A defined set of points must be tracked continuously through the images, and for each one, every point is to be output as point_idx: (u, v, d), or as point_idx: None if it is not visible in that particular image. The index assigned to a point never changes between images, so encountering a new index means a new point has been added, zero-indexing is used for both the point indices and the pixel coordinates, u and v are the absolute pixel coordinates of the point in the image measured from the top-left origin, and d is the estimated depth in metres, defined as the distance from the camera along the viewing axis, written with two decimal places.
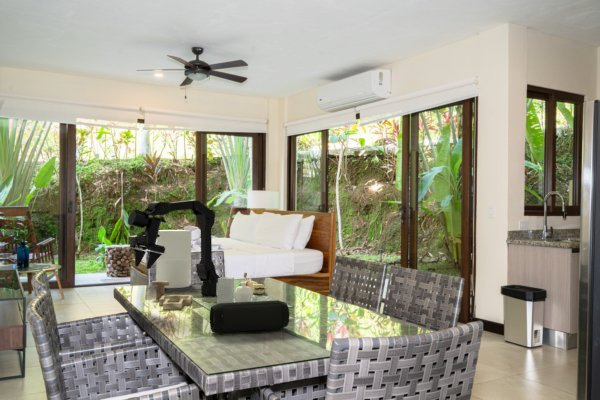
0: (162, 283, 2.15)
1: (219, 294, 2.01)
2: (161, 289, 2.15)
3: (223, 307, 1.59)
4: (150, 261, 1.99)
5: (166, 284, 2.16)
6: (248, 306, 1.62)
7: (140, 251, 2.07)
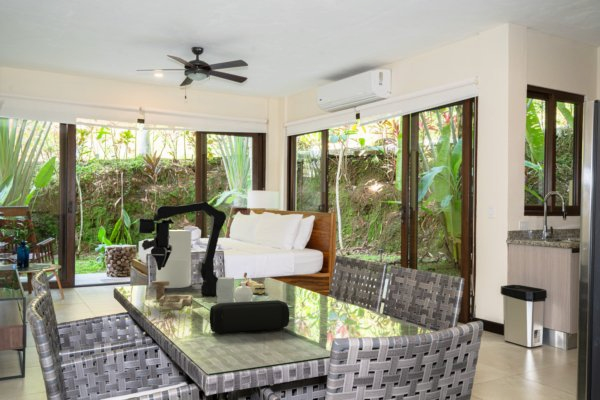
0: (162, 283, 2.15)
1: (219, 294, 2.01)
2: (161, 289, 2.15)
3: (223, 307, 1.59)
4: (158, 263, 2.13)
5: (166, 284, 2.16)
6: (248, 305, 1.62)
7: None
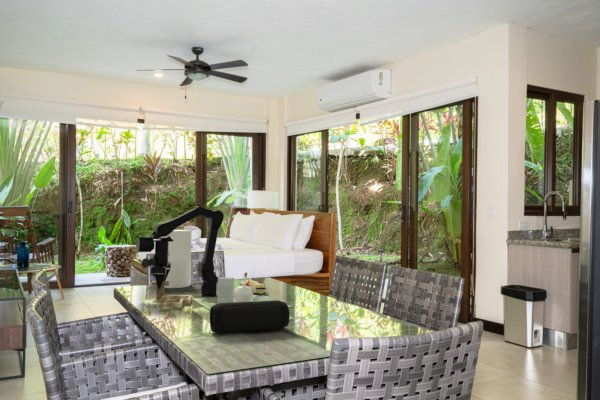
0: (162, 283, 2.15)
1: (219, 294, 2.01)
2: (161, 289, 2.15)
3: (223, 307, 1.59)
4: (158, 282, 2.11)
5: (166, 284, 2.16)
6: (248, 306, 1.62)
7: None
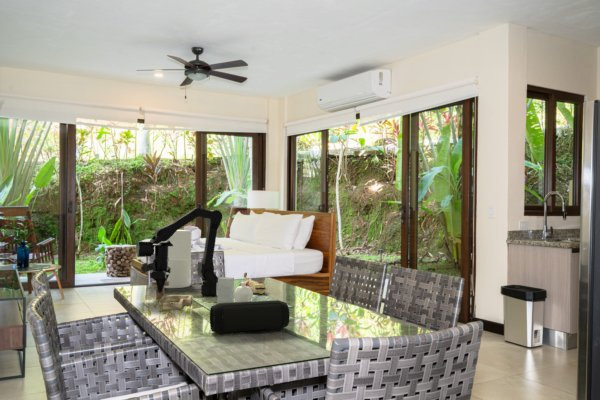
0: None
1: (219, 294, 2.01)
2: None
3: (223, 307, 1.59)
4: (158, 285, 2.14)
5: (166, 284, 2.16)
6: (248, 305, 1.62)
7: None
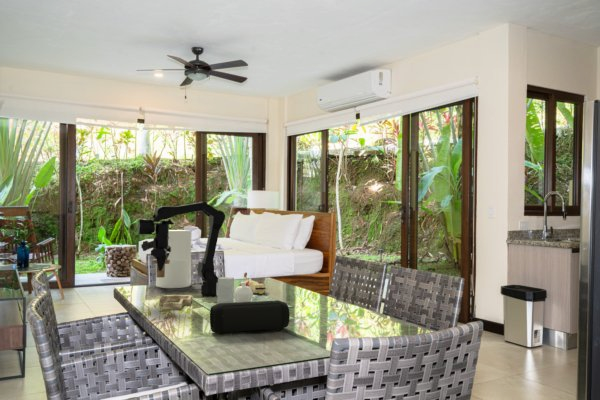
0: None
1: (219, 294, 2.01)
2: None
3: (223, 307, 1.59)
4: (159, 263, 2.14)
5: (166, 262, 2.16)
6: (248, 306, 1.62)
7: None
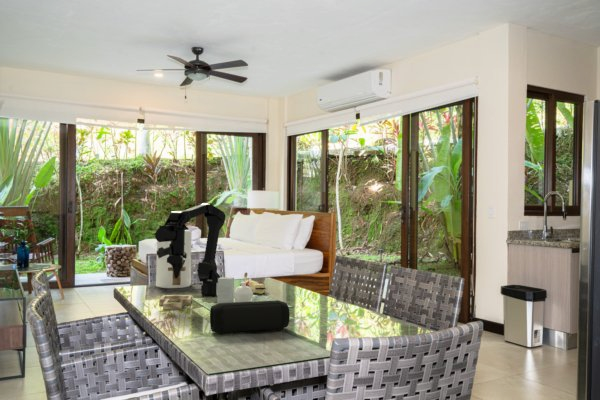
0: None
1: (219, 294, 2.01)
2: None
3: (223, 307, 1.59)
4: (175, 271, 2.06)
5: (183, 269, 2.07)
6: (248, 306, 1.62)
7: None
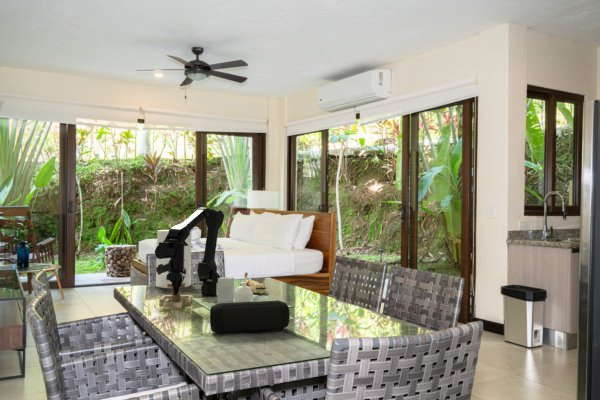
0: None
1: (219, 294, 2.01)
2: None
3: (223, 307, 1.59)
4: (174, 287, 2.06)
5: (182, 286, 2.07)
6: (248, 306, 1.62)
7: None
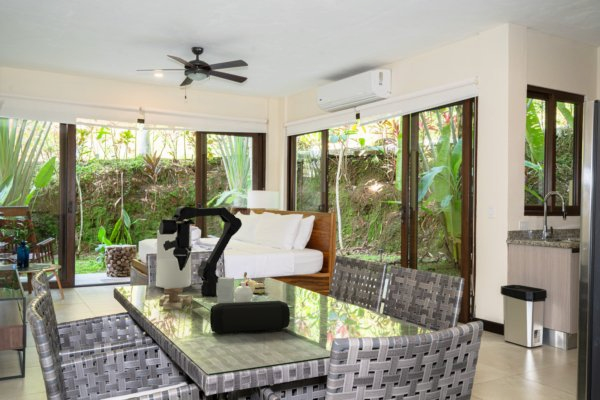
0: (175, 290, 1.98)
1: (219, 294, 2.01)
2: (174, 296, 1.98)
3: (223, 307, 1.59)
4: (180, 263, 2.14)
5: (179, 291, 1.98)
6: (248, 306, 1.62)
7: None
